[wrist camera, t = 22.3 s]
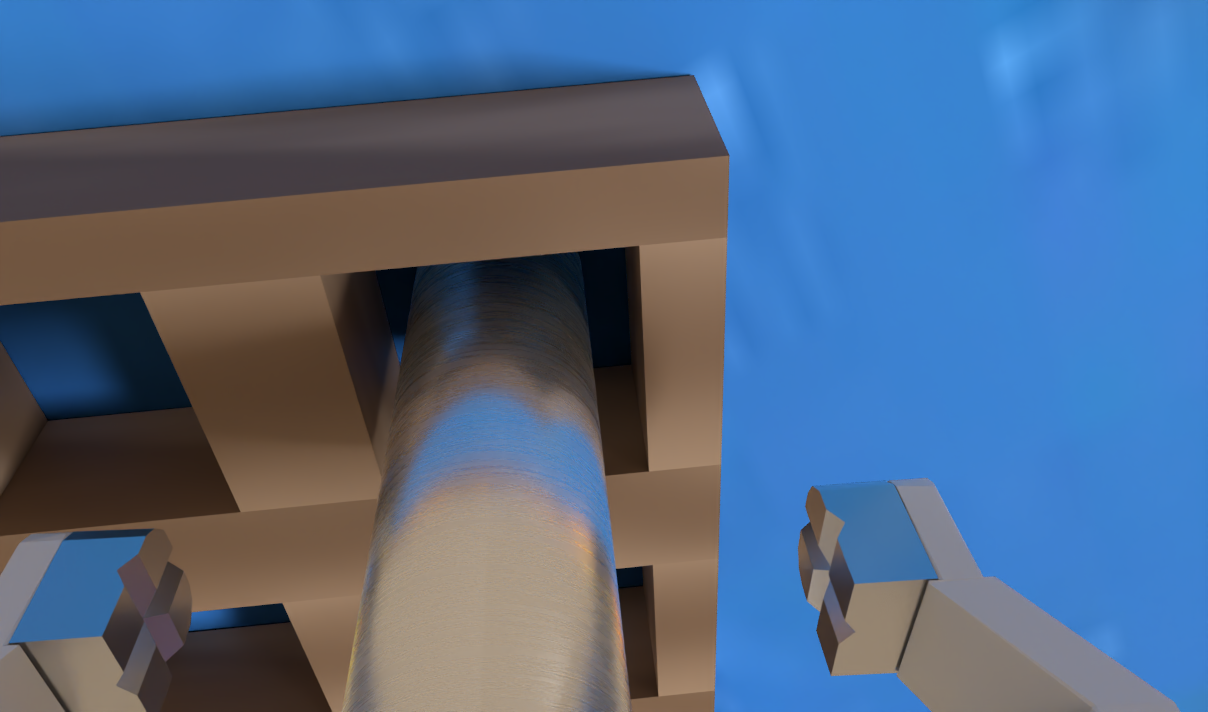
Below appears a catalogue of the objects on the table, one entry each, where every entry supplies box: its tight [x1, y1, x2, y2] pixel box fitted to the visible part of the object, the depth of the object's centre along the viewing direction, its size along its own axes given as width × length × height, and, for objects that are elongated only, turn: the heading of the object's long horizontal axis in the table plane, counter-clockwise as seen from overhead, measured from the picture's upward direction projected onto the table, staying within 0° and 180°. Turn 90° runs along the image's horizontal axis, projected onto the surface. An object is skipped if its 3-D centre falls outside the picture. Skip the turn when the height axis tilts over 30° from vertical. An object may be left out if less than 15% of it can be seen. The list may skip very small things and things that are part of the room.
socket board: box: [0, 75, 729, 712], centre depth 17 cm, size 14×14×3 cm
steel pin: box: [342, 251, 632, 712], centre depth 12 cm, size 3×3×10 cm
